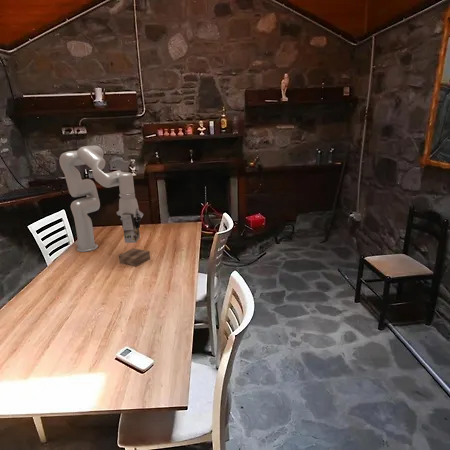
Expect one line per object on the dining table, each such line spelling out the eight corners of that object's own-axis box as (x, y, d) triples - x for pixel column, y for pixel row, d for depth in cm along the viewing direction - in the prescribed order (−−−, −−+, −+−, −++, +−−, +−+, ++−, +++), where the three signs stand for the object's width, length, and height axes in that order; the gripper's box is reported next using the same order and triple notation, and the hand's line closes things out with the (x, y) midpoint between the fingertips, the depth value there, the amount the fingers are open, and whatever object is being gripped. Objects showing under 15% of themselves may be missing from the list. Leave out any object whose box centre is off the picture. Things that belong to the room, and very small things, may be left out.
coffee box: (136, 242, 190) (133, 214, 186) (124, 243, 191) (121, 214, 186) (140, 237, 199) (137, 209, 194) (129, 237, 199) (126, 210, 195)
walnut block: (119, 263, 196) (118, 255, 195) (134, 256, 206) (133, 248, 205) (135, 267, 191) (134, 258, 189) (150, 259, 201) (149, 251, 200)
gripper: (109, 196, 187) (113, 228, 192) (137, 198, 181) (140, 230, 186) (118, 193, 194) (122, 224, 199) (145, 195, 188) (148, 226, 193)
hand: (131, 227), depth 193 cm, fingers closed on coffee box, 8 cm apart
